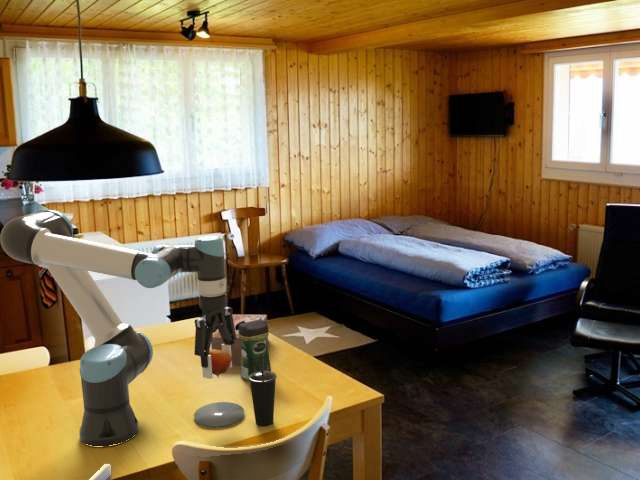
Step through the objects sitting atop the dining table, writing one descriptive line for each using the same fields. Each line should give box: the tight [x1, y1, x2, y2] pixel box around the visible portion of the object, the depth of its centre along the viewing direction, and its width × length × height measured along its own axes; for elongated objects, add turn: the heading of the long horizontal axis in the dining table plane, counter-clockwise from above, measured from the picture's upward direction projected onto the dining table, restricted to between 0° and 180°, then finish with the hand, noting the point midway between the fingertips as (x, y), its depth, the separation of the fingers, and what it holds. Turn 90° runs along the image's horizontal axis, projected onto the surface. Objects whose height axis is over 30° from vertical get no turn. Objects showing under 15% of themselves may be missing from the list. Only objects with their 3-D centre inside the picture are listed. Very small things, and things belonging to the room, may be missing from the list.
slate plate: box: [193, 401, 245, 429], centre depth 189 cm, size 14×14×1 cm
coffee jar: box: [238, 319, 272, 381], centre depth 216 cm, size 10×8×19 cm
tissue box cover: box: [210, 313, 269, 366], centre depth 240 cm, size 26×14×10 cm, turn 174°
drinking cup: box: [248, 354, 278, 428], centre depth 183 cm, size 8×8×20 cm
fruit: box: [209, 348, 232, 377], centre depth 186 cm, size 8×8×8 cm
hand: (217, 371), depth 187 cm, fingers closed on fruit, 8 cm apart
